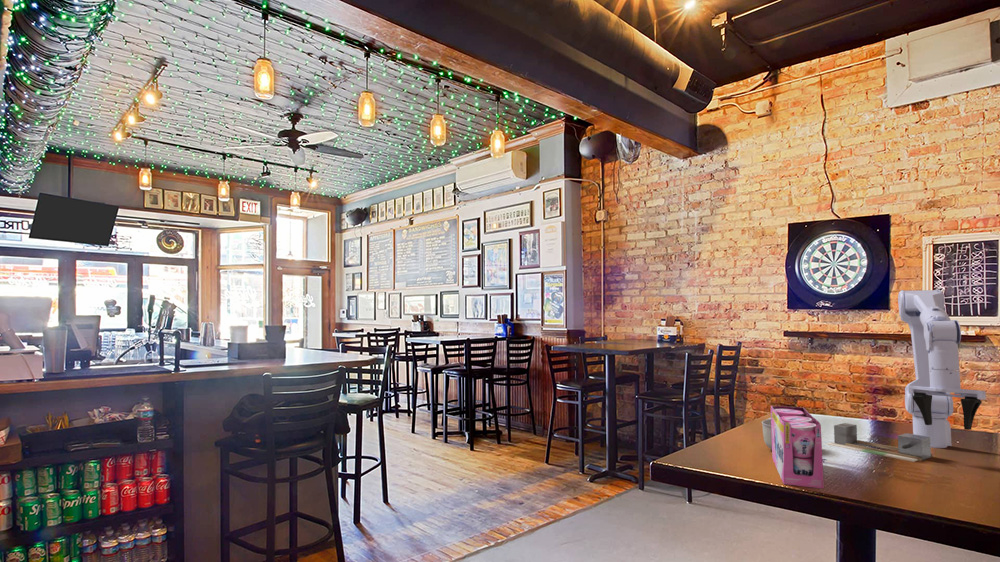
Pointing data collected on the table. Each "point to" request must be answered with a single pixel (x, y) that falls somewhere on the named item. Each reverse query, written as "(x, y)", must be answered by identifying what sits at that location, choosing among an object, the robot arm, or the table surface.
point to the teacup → (767, 432)
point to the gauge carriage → (914, 445)
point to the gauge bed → (848, 437)
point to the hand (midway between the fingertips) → (947, 427)
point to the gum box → (797, 446)
